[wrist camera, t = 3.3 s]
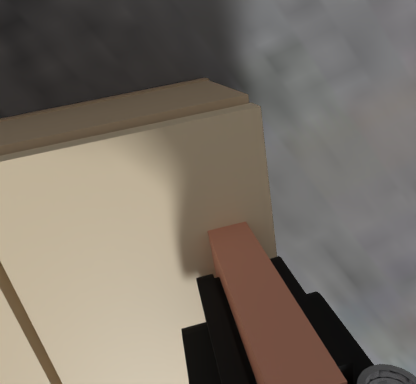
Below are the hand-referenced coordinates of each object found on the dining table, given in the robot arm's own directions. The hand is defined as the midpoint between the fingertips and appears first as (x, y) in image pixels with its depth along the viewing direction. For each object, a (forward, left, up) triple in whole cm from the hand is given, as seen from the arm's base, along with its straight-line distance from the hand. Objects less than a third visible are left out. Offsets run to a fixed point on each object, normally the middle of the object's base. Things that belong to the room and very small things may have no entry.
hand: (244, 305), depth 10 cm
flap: (+2, 0, -2) cm, 3 cm away
